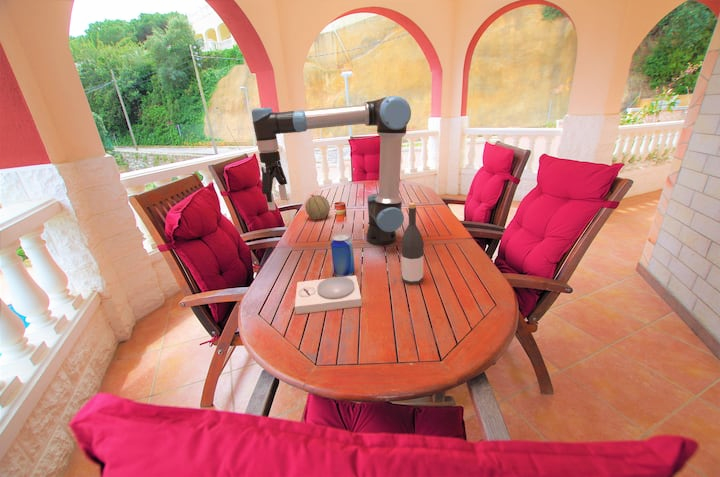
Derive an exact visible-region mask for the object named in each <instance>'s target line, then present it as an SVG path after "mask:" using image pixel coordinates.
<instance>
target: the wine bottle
mask: <svg viewBox="0 0 720 477" xmlns="http://www.w3.org/2000/svg"><path fill="white" fill-rule="evenodd" d="M408 205H409V206H408V224H407V226H406V229H405V230H404V232H403V234H402V237H401V242H400V243H401V244H400V249H401V253H400V254H401V255H400V256H401V262H400V263H401V280H402V282H403V283H404V284H407V285H409V286H412V285H413V286H414V285H420V284H421V283H422V282H423V281H424V251H425V250H424V246H425V245H424V244H425V243H424V240H423V236H422V233H421V231H420V230H419V227H418V226H417V207H416V203H415V202H409V204H408Z"/></svg>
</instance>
